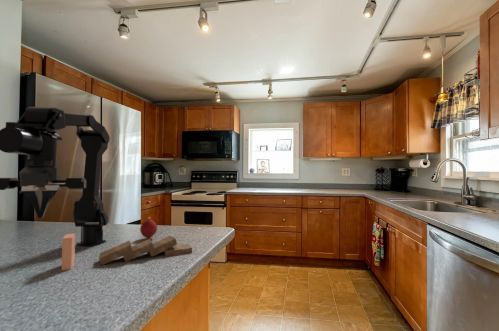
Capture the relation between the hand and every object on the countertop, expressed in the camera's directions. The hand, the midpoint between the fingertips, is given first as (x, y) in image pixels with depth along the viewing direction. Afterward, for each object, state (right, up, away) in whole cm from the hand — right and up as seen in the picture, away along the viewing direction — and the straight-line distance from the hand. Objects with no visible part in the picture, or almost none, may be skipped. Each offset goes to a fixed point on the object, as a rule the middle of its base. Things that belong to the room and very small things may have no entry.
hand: (40, 217), depth 65 cm
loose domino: (+5, -13, +2) cm, 15 cm away
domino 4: (+27, -13, +13) cm, 33 cm away
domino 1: (+12, -12, +5) cm, 18 cm away
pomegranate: (+15, -14, +31) cm, 37 cm away
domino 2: (+17, -13, +8) cm, 23 cm away
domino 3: (+23, -13, +11) cm, 28 cm away
